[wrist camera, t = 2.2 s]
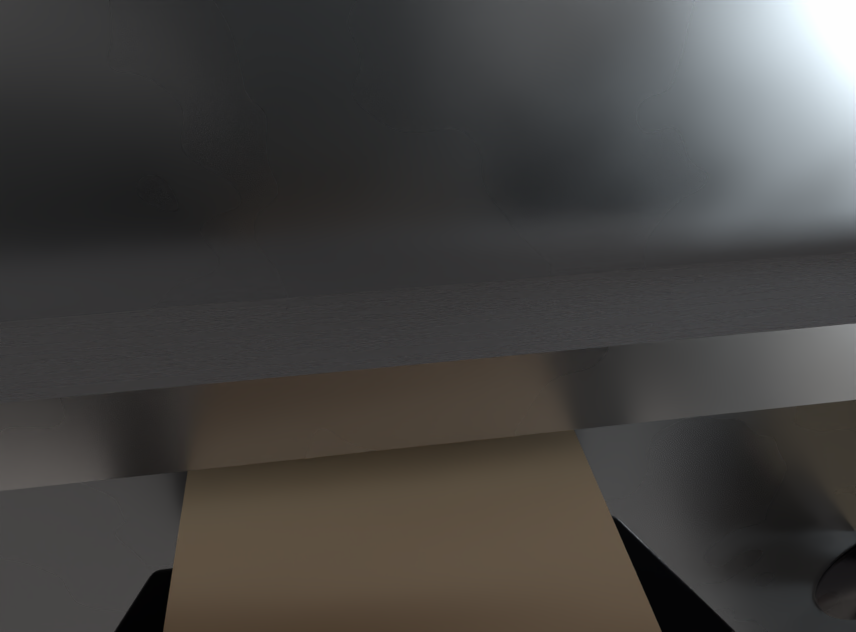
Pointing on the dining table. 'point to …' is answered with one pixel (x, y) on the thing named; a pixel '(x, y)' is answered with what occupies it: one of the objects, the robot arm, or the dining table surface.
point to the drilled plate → (430, 271)
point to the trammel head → (406, 544)
